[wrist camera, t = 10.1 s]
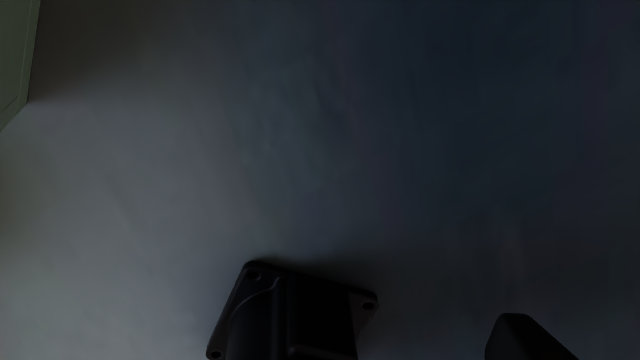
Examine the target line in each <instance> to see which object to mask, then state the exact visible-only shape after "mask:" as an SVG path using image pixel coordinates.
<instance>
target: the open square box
mask: <svg viewBox="0 0 640 360" xmlns="http://www.w3.org/2000/svg"><path fill="white" fill-rule="evenodd" d="M40 1H41V0H0V131H1V130H2V129H3V128H4V127H5V126H6V125H7V124H8V123H9V122H10V121H11V120H12V119H13V118H14V117H15V116H16V114H18V113H19V112H20V110H21V109H22V108H23V107H24V106H25V105H26V103H27V96H28V88H29V81H30V74H31V67H32V59H33V52H34V45H35V37H36V30H37V23H38V16H39V8H40Z"/></svg>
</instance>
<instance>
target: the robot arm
mask: <svg viewBox="0 0 640 360" xmlns="http://www.w3.org/2000/svg"><path fill="white" fill-rule="evenodd" d="M252 271H256V272H258V273H255V274H254V273H250V272H252ZM366 302H370V303H366ZM378 306H379V305H378V300H377V296H376V295H375V294H374V293H372V292H369V291H365V290H362V289H358V288H354V287H351V286H347V285H343V284H340V283H336V282H332V281H329V280H325V279H321V278H318V277H314V276H310V275H307V274H303V273H299V272H296V271H292V270H288V269H285V268H281V267H277V266H274V265H270V264H266V263H263V262H259V261H249V262H247V263H245V265H244V266H243V268H242V270H241V272H240V274H239V276H238V279H237V281H236V283H235V285H234V288H233V290H232V292H231V294H230V296H229V299H228V301H227V303H226V305H225V307H224V310H223V312H222V314H221V316H220V319H219V321H218V323H217V325H216V327H215V330H214V332H213V334H212V336H211V338H210V341H209V343H208V345H207V350H206V357H207V358H208V359H209V360H358V356H357V349H356V340H357V339H358V337H359V336H360V334H361V333H362V331H363V330H364V328H365V327H366V325H367V324H368V322H369V321H370V319H371V318H372V316H373V315H374V313H375V311H376V310H377V308H378ZM485 360H579V359H578V358H577V357H576V356H574V355H573V354H572V353H571V352H570V351H569V350H568V349H567V348H565V347H564V346H563V345H562V344H561V343H560V342H559V341H558V340H556V339H555V338H554V337H553V336H552V335H551V334H550V333H548V332H547V331H546V330H545V329H544V328H543V327H542V326H541V325H539V324H538V323H537V322H536V321H535V320H534V319H533V318H531V317H530V316H528V315H526V314H519V313H503V314H501V315H500V316H499V317H498V318H497V320H496V323H495V325H494V327H493V330H492V332H491V335H490V337H489V340H488V342H487V345H486V348H485Z"/></svg>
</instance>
